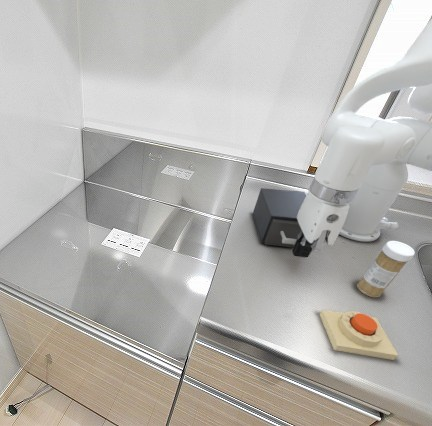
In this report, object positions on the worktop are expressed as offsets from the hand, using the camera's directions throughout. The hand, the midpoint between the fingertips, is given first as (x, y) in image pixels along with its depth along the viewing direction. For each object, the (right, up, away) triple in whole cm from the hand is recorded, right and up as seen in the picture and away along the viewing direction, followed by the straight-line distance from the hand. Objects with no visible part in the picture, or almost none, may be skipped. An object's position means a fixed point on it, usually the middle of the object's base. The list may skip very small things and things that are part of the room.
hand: (299, 254), depth 70 cm
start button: (+3, -12, -13) cm, 18 cm away
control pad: (+4, -15, -11) cm, 19 cm away
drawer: (+2, +3, +11) cm, 12 cm away
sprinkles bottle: (+14, -8, -3) cm, 16 cm away
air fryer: (+3, +5, +15) cm, 16 cm away
